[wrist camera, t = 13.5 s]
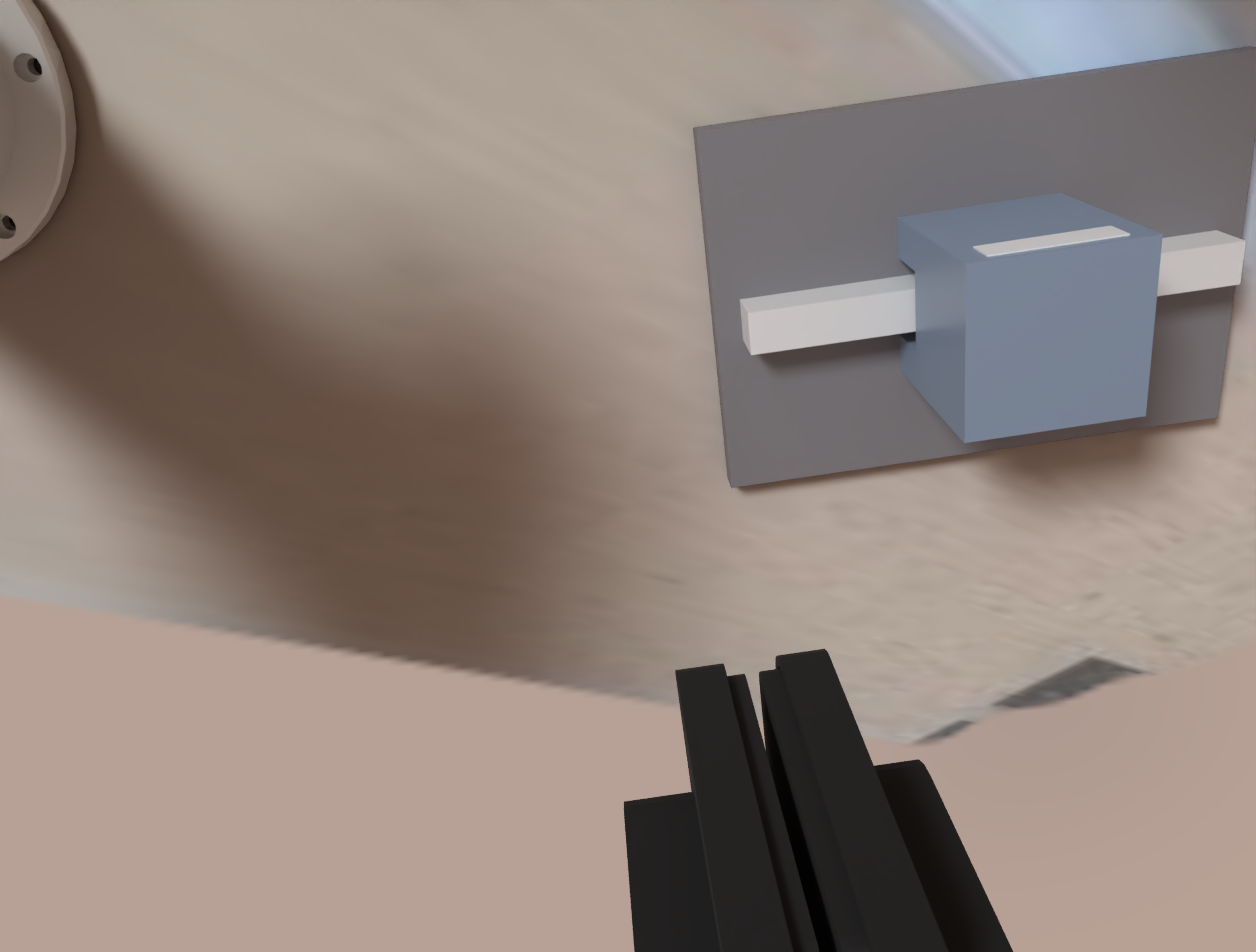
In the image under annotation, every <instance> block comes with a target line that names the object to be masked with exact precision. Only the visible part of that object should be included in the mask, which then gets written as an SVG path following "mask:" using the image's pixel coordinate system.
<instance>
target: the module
mask: <svg viewBox="0 0 1256 952" xmlns="http://www.w3.org/2000/svg"><path fill="white" fill-rule="evenodd" d="M897 233H898V258H899V259H900V260H901V261H903V262H904V263H905V264H906V265H908V266H909V267H910V268H911V269H913V270H914V271H915V314H916V332H914V333H907V334H901V335H900V371H901V372H902V374H903V375H904V376H905V377H906V378H907V379H908V380H909V381H910V383H911V384H912V385H913V386H914V387H915V388H916V389H917V390H918V392H919V393H920V394H921V395H922V396H923V397H924V398H925V399H926V401H927V402H928V403H929V404H930V405H931V406H932V407H933V408H934V410H935V411H936V412H937V413H938V414H939V415H940V416H941V417H942V419H943V420H944V421H945V422H946V423H947V424H948V425H949V426H950V428H951V429H952V430H953V431H954V432H955V433H956V434H957V435H958V436H959V438H960V439H961V440H962V441H963V442H964V443H969V442H976V441H983V440H989V439H996V438H1003V437H1009V436H1016V435H1023V434H1029V433H1036V432H1043V431H1049V430H1056V429H1063V428H1069V427H1076V426H1083V425H1089V424H1096V423H1103V422H1109V421H1116V420H1123V419H1130V418H1136V417H1143V416H1146V409H1147V398H1148V388H1149V377H1150V366H1151V355H1152V345H1153V334H1154V323H1155V313H1156V302H1157V291H1158V281H1159V270H1160V259H1161V248H1162V238H1163V234H1161V233H1159V232H1156V231H1154V230H1151V229H1149V228H1146V227H1144V226H1141V225H1139V224H1136V223H1134V222H1131V221H1129V220H1127V219H1124V218H1122V217H1119V216H1117V215H1114V214H1112V213H1109V212H1107V211H1104V210H1102V209H1099V208H1097V207H1094V206H1092V205H1090V204H1087V203H1085V202H1082V201H1080V200H1077V199H1075V198H1072V197H1070V196H1067V195H1065V194H1062V193H1055V194H1048V195H1042V196H1035V197H1028V198H1022V199H1015V200H1009V201H1002V202H995V203H989V204H982V205H976V206H969V207H962V208H956V209H949V210H943V211H936V212H929V213H923V214H916V215H909V216H903V217H897Z"/></svg>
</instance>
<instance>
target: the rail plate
mask: <svg viewBox="0 0 1256 952" xmlns="http://www.w3.org/2000/svg"><path fill="white" fill-rule="evenodd" d="M693 131H694V141H695V152H696V162H697V172H698V182H699V192H700V202H701V212H702V222H703V233H704V243H705V253H706V263H707V273H708V283H709V293H710V303H711V314H712V324H713V334H714V344H715V354H716V364H717V374H718V385H719V395H720V405H721V415H722V425H723V435H724V445H725V455H726V466H727V476H728V480H729V483H730V486H731V488H734V487H741V486H748V485H754V484H761V483H768V482H775V481H782V480H789V479H796V478H803V477H810V476H817V475H824V474H831V473H837V472H844V471H851V470H858V469H865V468H872V467H879V466H886V465H893V464H900V463H907V462H914V461H920V460H927V459H934V458H941V457H948V456H955V455H962V454H969V453H976V452H983V451H990V450H997V449H1003V448H1010V447H1017V446H1024V445H1031V444H1038V443H1045V442H1052V441H1059V440H1066V439H1073V438H1080V437H1086V436H1093V435H1100V434H1107V433H1114V432H1121V431H1128V430H1135V429H1142V428H1149V427H1156V426H1163V425H1169V424H1176V423H1183V422H1190V421H1197V420H1204V419H1211V418H1218V412H1219V404H1220V397H1221V389H1222V382H1223V374H1224V367H1225V359H1226V352H1227V344H1228V337H1229V329H1230V322H1231V314H1232V307H1233V299H1234V291H1235V285H1239V284H1240V281H1241V273H1242V266H1243V259H1244V251H1245V244H1246V241H1245V240H1242V231H1243V224H1244V216H1245V209H1246V201H1247V194H1248V186H1249V179H1250V171H1251V164H1252V156H1253V149H1254V141H1255V134H1256V47H1243V48H1236V49H1229V50H1222V51H1216V52H1209V53H1202V54H1195V55H1188V56H1181V57H1175V58H1168V59H1161V60H1154V61H1147V62H1140V63H1133V64H1127V65H1120V66H1113V67H1106V68H1099V69H1092V70H1085V71H1079V72H1072V73H1065V74H1058V75H1051V76H1044V77H1038V78H1031V79H1024V80H1017V81H1010V82H1003V83H996V84H990V85H983V86H976V87H969V88H962V89H955V90H948V91H942V92H935V93H928V94H921V95H914V96H907V97H901V98H894V99H887V100H880V101H873V102H866V103H859V104H853V105H846V106H839V107H832V108H825V109H818V110H812V111H805V112H798V113H791V114H784V115H777V116H770V117H764V118H757V119H750V120H743V121H736V122H729V123H722V124H716V125H709V126H702V127H695V128H693ZM1055 193H1062V194H1065V195H1067V196H1070V197H1072V198H1075V199H1077V200H1080V201H1082V202H1085V203H1087V204H1090V205H1092V206H1094V207H1097V208H1099V209H1102V210H1104V211H1107V212H1109V213H1112V214H1114V215H1117V216H1119V217H1122V218H1124V219H1127V220H1129V221H1131V222H1134V223H1136V224H1139V225H1141V226H1144V227H1146V228H1149V229H1151V230H1154V231H1156V232H1159V233H1161V234H1163V238H1162V248H1161V259H1160V270H1159V281H1158V291H1157V302H1156V313H1155V323H1154V334H1153V345H1152V355H1151V366H1150V377H1149V388H1148V398H1147V409H1146V416H1143V417H1136V418H1130V419H1123V420H1116V421H1109V422H1103V423H1096V424H1089V425H1083V426H1076V427H1069V428H1063V429H1056V430H1049V431H1043V432H1036V433H1029V434H1023V435H1016V436H1009V437H1003V438H996V439H989V440H983V441H976V442H969V443H964V442H963V441H962V440H961V439H960V438H959V436H958V435H957V434H956V433H955V432H954V431H953V430H952V429H951V428H950V426H949V425H948V424H947V423H946V422H945V421H944V420H943V419H942V417H941V416H940V415H939V414H938V413H937V412H936V411H935V410H934V408H933V407H932V406H931V405H930V404H929V403H928V402H927V401H926V399H925V398H924V397H923V396H922V395H921V394H920V393H919V392H918V390H917V389H916V388H915V387H914V386H913V385H912V384H911V383H910V381H909V380H908V379H907V378H906V377H905V376H904V375H903V374H902V372H901V371H900V335H901V334H907V333H914V332H916V314H915V271H914V270H913V269H911V268H910V267H909V266H908V265H906V264H905V263H904V262H903V261H901V260H900V259H899V258H898V233H897V217H903V216H909V215H916V214H923V213H929V212H936V211H943V210H949V209H956V208H962V207H969V206H976V205H982V204H989V203H995V202H1002V201H1009V200H1015V199H1022V198H1028V197H1035V196H1042V195H1048V194H1055Z"/></svg>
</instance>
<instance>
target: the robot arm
mask: <svg viewBox="0 0 1256 952" xmlns="http://www.w3.org/2000/svg"><path fill="white" fill-rule="evenodd" d="M35 59H37V60H38V61H39V63H40V65H41V67H42V74H40V73H38V72H37V71H36V70H35V68H34V64H33V62H34V60H35ZM76 130H77V127H76V119H75V110H74V102H73V94H72V89H71V86H70V82H69V79H68V76H67V72H66V69H65V66H64V62H63V59H62V56H61V53H60V51H59V49H58V47H57V45H56V42H55V40H54V38H53V36H52V34H51V32H50V30H49V28H48V26H47V24H46V22H45V20H44V18H43V16H42V14H41V13H40V11H39V10H38V8H37V7H36V6H35V4H34V3H33V1H32V0H0V261H2V260H4V259H5V258H7V257H9V256H10V255H12V254H13V253H15V252H16V251H18V250H19V249H21V248H22V247H24V246H25V245H27V244H28V243H29V242H30V241H31V240H32V239H33V238H34V237H35V236H36V235H37V234H38V233H39V232H40V231H41V230H42V229H43V228H44V227H45V225H46V224H47V223H48V222H49V221H50V219H51V218H52V216H53V214H54V212H55V211H56V209H57V207H58V205H59V204H60V202H61V200H62V198H63V196H64V195H65V192H66V188H67V185H68V182H69V178H70V175H71V171H72V168H73V165H74V156H75V143H76ZM8 217H10V218H12V220H13V221H14V223H15V224H16V228H15V227H14V226H12V225H11V224H10V222H9V218H8ZM775 664H776V669H775V670H768V671H761V672H759V682H760V693H761V704H762V715H763V726H764V736H765V746H766V750H765V747H764V743H763V739H762V735H761V732H760V728H759V724H758V720H757V717H756V713H755V709H754V706H753V702H752V698H751V694H750V691H749V687H748V683H747V680H746V676H745V674H740V675H733V676H727V675H726V671H725V667H724V664H716V665H709V666H702V667H695V668H688V669H682V670H675V672H676V680H677V688H678V695H679V702H680V710H681V717H682V724H683V731H684V739H685V746H686V754H687V761H688V768H689V775H690V783H691V790H692V792H688V793H682V794H675V795H667V796H661V797H654V798H647V799H640V800H633V801H626V802H624V816H625V817H624V818H625V831H626V844H627V858H628V871H629V884H630V897H631V910H632V924H633V936H634V950H635V952H1013V951H1012V948H1011V946H1010V944H1009V942H1008V940H1007V938H1006V936H1005V933H1004V931H1003V929H1002V927H1001V925H1000V923H999V921H998V918H997V916H996V914H995V912H994V910H993V908H992V906H991V904H990V901H989V899H988V897H987V895H986V893H985V891H984V889H983V887H982V884H981V882H980V880H979V878H978V876H977V874H976V872H975V869H974V867H973V865H972V863H971V861H970V859H969V857H968V855H967V852H966V851H965V848H964V846H963V844H962V842H961V840H960V837H959V836H958V833H957V831H956V829H955V827H954V825H953V823H952V820H951V819H950V816H949V814H948V812H947V810H946V808H945V806H944V803H943V802H942V799H941V797H940V795H939V793H938V791H937V789H936V786H935V784H934V782H933V780H932V778H931V776H930V774H929V772H928V770H927V769H926V767H925V765H924V764H923V763H922V762H921V761H920V760H912V761H904V762H898V763H891V764H884V765H877V766H873V763H872V760H871V758H870V756H869V753H868V751H867V748H866V746H865V743H864V741H863V738H862V736H861V733H860V731H859V728H858V726H857V723H856V721H855V718H854V716H853V713H852V711H851V708H850V706H849V703H848V701H847V698H846V696H845V693H844V691H843V688H842V686H841V683H840V681H839V679H838V676H837V674H836V671H835V669H834V666H833V664H832V661H831V659H830V656H829V654H828V652H827V651H826V650H825V649H820V650H814V651H807V652H800V653H793V654H786V655H779V656H776V663H775Z"/></svg>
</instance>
